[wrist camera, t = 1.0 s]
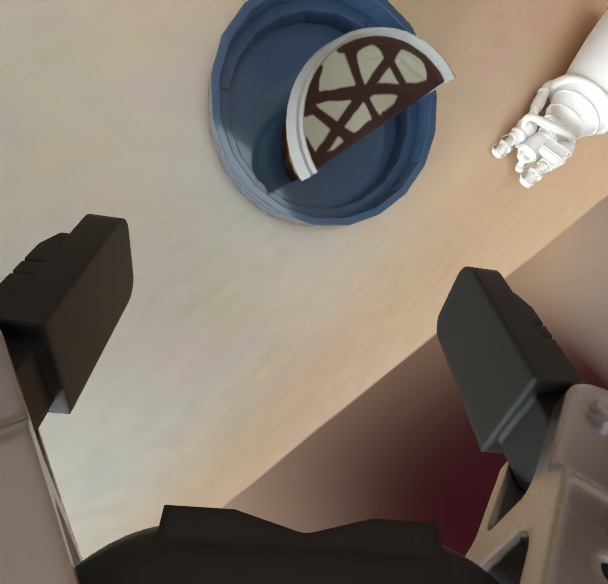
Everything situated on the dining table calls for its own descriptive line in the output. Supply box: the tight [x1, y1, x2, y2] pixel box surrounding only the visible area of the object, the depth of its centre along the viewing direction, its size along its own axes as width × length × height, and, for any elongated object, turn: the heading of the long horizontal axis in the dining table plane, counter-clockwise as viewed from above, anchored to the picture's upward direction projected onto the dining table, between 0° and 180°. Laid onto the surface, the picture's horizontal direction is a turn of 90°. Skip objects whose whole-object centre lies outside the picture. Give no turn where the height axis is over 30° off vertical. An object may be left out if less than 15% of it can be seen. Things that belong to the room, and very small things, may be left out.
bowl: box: [208, 0, 437, 226], centre depth 33 cm, size 18×18×4 cm
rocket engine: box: [492, 9, 608, 188], centre depth 38 cm, size 12×12×18 cm
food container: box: [281, 27, 455, 182], centre depth 30 cm, size 12×6×10 cm, turn 124°
